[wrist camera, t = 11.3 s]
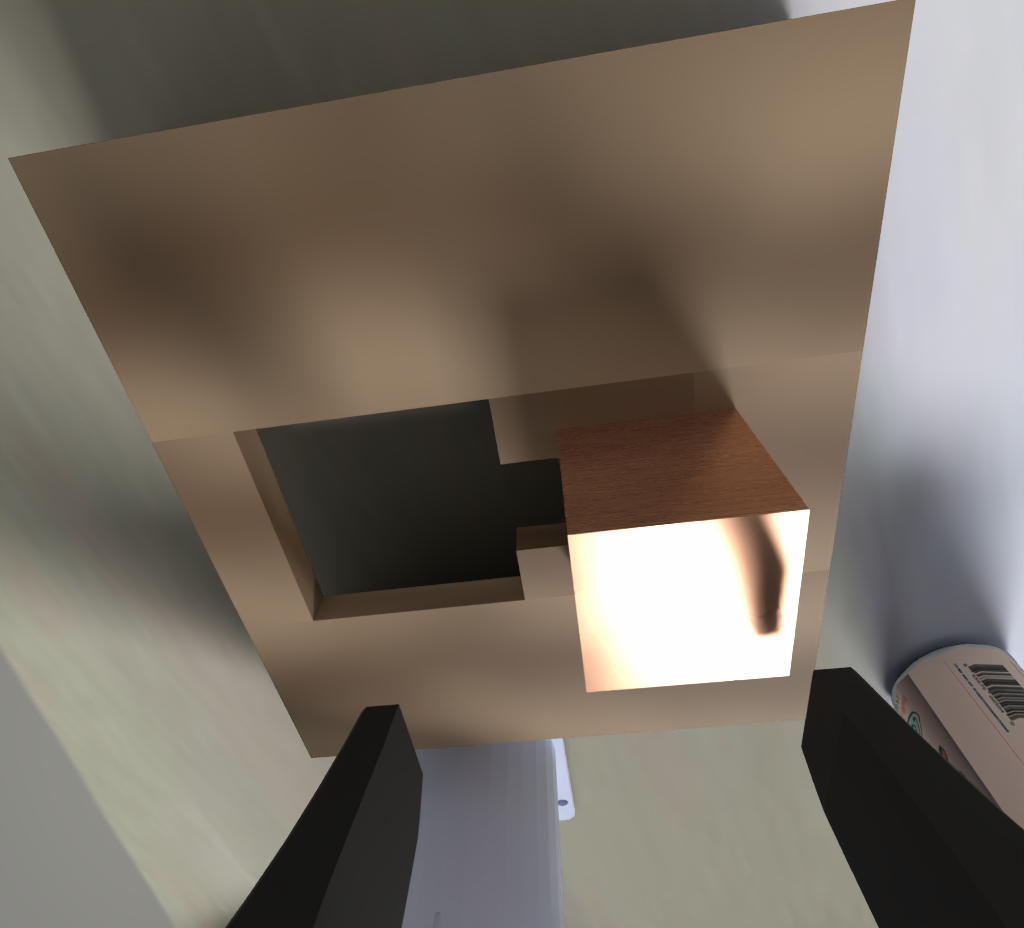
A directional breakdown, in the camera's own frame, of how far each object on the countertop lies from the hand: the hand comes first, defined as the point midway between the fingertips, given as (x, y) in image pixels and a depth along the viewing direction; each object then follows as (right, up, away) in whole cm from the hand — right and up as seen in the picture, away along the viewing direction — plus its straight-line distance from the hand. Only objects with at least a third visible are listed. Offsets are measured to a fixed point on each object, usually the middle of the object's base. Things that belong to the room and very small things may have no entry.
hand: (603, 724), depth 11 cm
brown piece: (+2, +6, +7) cm, 10 cm away
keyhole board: (-2, +6, +9) cm, 11 cm away
